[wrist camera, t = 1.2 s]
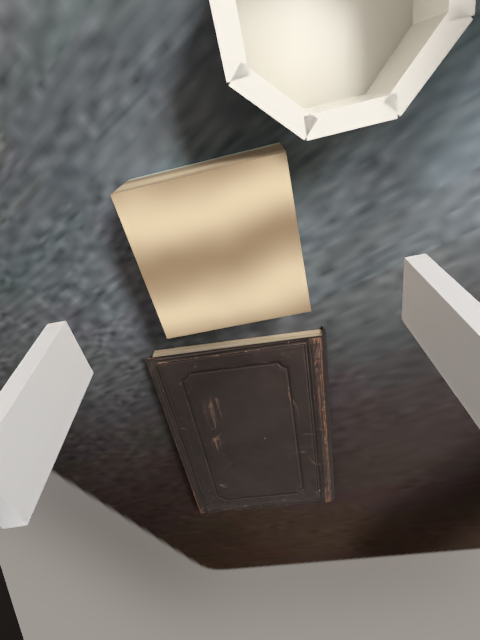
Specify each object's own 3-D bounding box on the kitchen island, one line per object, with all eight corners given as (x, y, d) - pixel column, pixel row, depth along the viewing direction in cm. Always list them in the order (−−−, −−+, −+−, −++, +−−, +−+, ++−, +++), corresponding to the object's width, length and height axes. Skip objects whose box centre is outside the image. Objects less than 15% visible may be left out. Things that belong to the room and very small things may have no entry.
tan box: (303, 286, 32) (311, 311, 28) (175, 312, 33) (167, 338, 29) (280, 143, 26) (286, 151, 23) (127, 181, 27) (110, 194, 24)
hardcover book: (202, 496, 48) (200, 513, 46) (150, 345, 36) (145, 360, 34) (332, 483, 46) (336, 501, 44) (322, 322, 35) (327, 337, 33)
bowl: (422, 97, 25) (469, 101, 20) (242, 143, 27) (242, 156, 21) (425, -176, 19) (493, -273, 14) (192, -98, 21) (175, -159, 15)
